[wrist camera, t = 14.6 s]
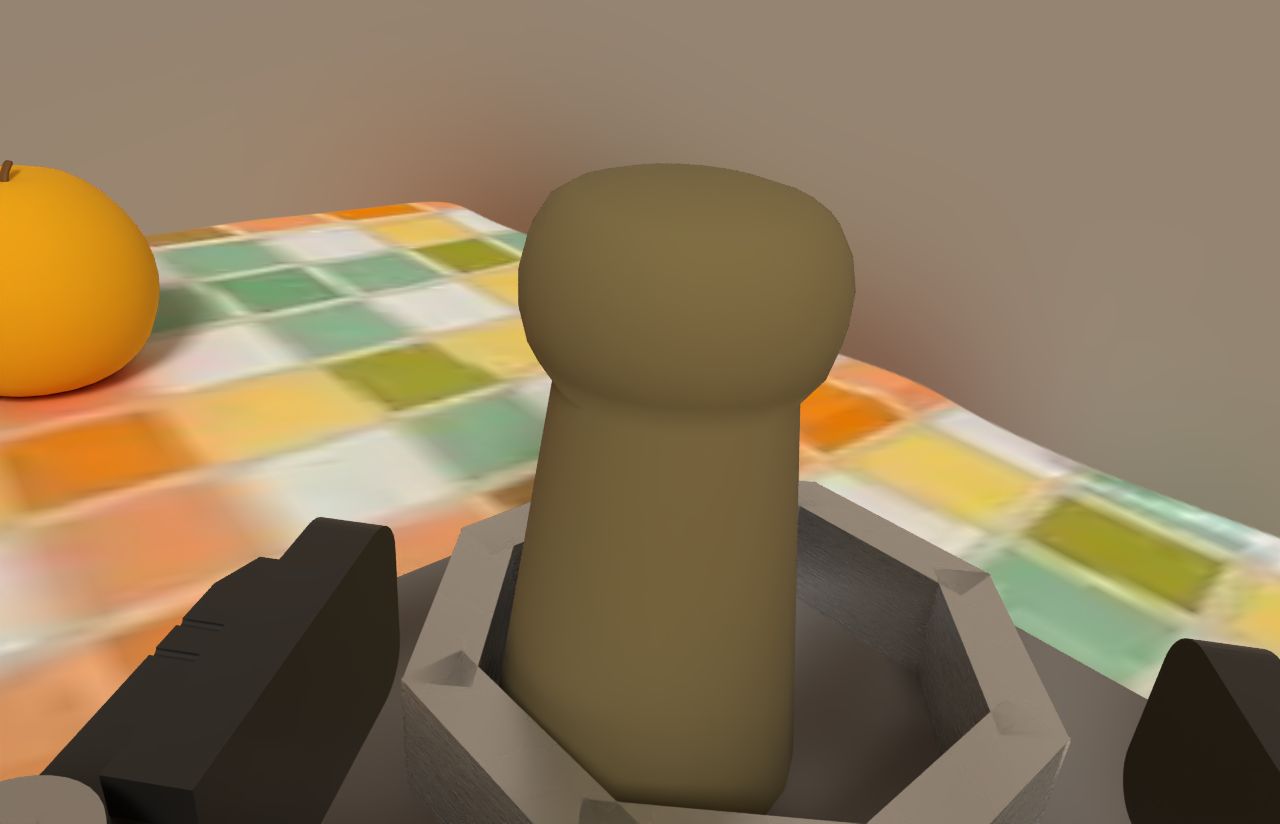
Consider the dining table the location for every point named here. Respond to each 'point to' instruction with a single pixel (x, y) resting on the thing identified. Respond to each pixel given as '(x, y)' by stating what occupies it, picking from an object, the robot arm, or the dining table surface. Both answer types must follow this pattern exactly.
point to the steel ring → (826, 582)
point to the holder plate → (814, 729)
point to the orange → (68, 283)
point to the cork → (671, 475)
